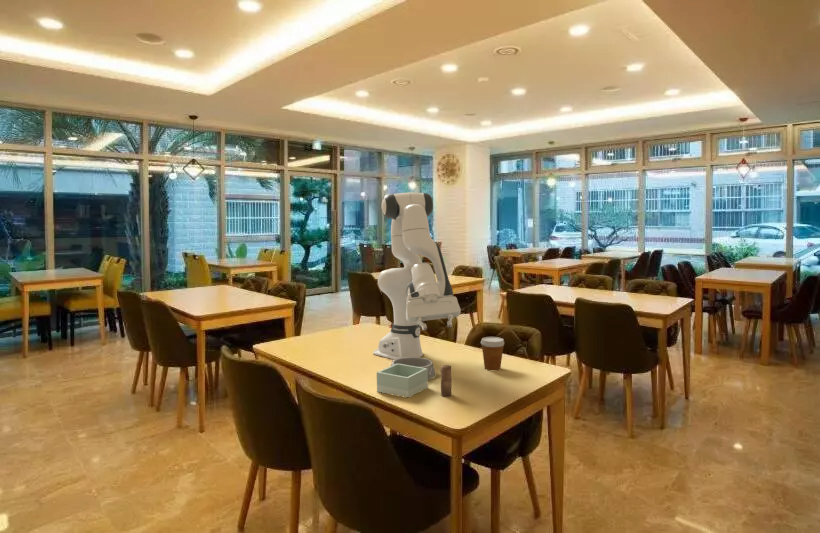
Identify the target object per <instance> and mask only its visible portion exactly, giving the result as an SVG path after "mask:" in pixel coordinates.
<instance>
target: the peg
mask: <svg viewBox="0 0 820 533" xmlns="http://www.w3.org/2000/svg"><path fill="white" fill-rule="evenodd" d="M440 396H442V397H444V398H445V397H447V398H449V397H452V365H449V364H443V365H441V366H440Z"/></svg>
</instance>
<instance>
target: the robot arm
mask: <svg viewBox="0 0 820 533" xmlns="http://www.w3.org/2000/svg"><path fill="white" fill-rule="evenodd" d="M433 209H434V200H433V198H432V196H431V195H430V194H429V193H426V192H411V191H409V192H408V191H407V192H400V193H392V192H391V193H389V194H385V195H384V197H383V198H382V201H381V211H382V213H383V215H384V217H385V218H387V219H389V220H391V223H390V224H391V225H390V242H391V253H392V255H393V256H394V257H395V258H396V259H397V260H400V261H401V262H402V264H403V267H396V268H395V267H394V268H388V269H385V270H382V271H381V272H380V273H379V274H378V276H377V286H378V288H379V289H380V291H381V292H382V293H384V294H385V295H386V296H387V297H388V299H389V300H390V302H391V305H392V308H393V309H392V311H393V323H392V324H390V325H388V328H389V329H390V331H389V332H388V333H387V334H385V335H384V336H383V337H382V338H380V340H379V342H378V346H377V347H378V348H376V349H375V350H373V353H372V355H376V356H379V357H383V358H387V359H391V360H395V359H398V358H404V357H421V358H422V356H424V353H423V350H422V346H421V340H420V337H421V336H420V335H421V329H422V331H426V330H427V329H428V326H427V323H424V322H425V321H433V320H442V319H448V320H447V321H446V325H447V328H452V327H453V322H452V321H453V318H458V317H459V316H460V315H461V313H462V312H461V310H462V309H461V307H460V304H459V301H458V298H457V297H456V296H454V290H453V287H452V285H451V282H450V278H449V276H448V275H449V274H448V272H447V267H446V265H445V264H446V263H445V260H444V257H443V254H442V251H441V247H440V245H439V244H438V243H437V242H435V241H434V240H433V238H432V236H431V233H430V226H429V225H430V224H429V220H428V217H429V216H430V215H431V214H432V213H433V211H434V210H433ZM420 256H422V257H424V258H427V260H429V261H430V262H431V264H432V265H433V266H431V265H430V264H429V263H428V262H422V259H421V257H420Z"/></svg>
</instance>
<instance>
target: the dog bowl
mask: <svg viewBox="0 0 820 533" xmlns="http://www.w3.org/2000/svg"><path fill="white" fill-rule="evenodd" d="M397 363H398V364H404V365H410V366H416V367H422V368H427V370H428V381H429V379H430V380H433V379H434V378H435V377H436V375H435V374H436V372H435V367H434V362H433V361H432V360H431V359H429V358H425V357H422V356H421V357H404V358H398V359H395V360H394V359H392V362H391V364H390V366H392V365H395V364H397ZM433 377H434V378H433Z"/></svg>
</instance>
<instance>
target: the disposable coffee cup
mask: <svg viewBox="0 0 820 533" xmlns="http://www.w3.org/2000/svg"><path fill="white" fill-rule="evenodd" d="M505 343H506V342H505V341H504V338H501V337H497V336H486V337H482V338H481V341H480V344H481V348H482V349H481V350H482V357H483V358H482V359H483V366H484V370H486V369H487V371H490V370H497V371H499V369H500V370H501V367H502V359H503V352H504V345H505Z"/></svg>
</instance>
